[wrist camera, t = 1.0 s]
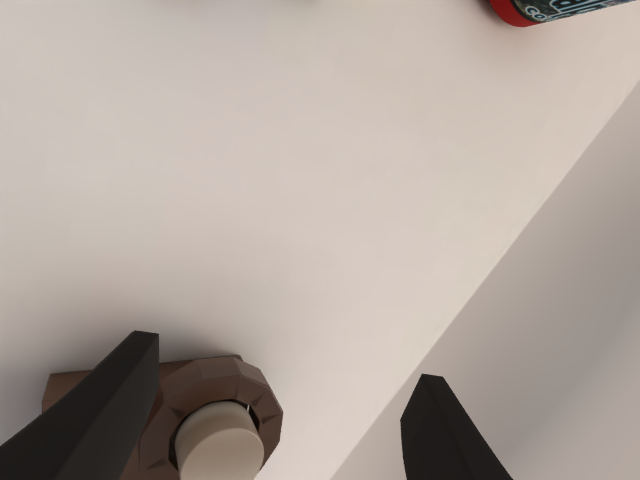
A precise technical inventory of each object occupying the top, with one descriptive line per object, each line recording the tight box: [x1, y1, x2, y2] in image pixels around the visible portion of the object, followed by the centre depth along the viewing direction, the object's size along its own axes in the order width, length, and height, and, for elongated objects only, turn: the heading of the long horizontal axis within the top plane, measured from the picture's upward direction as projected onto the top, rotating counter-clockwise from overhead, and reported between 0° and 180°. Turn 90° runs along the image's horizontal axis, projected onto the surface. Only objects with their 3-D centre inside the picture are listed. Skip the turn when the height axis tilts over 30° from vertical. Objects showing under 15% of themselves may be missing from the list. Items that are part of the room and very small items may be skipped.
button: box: [175, 401, 264, 480], centre depth 18 cm, size 4×4×2 cm
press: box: [42, 355, 283, 480], centre depth 20 cm, size 13×10×4 cm
